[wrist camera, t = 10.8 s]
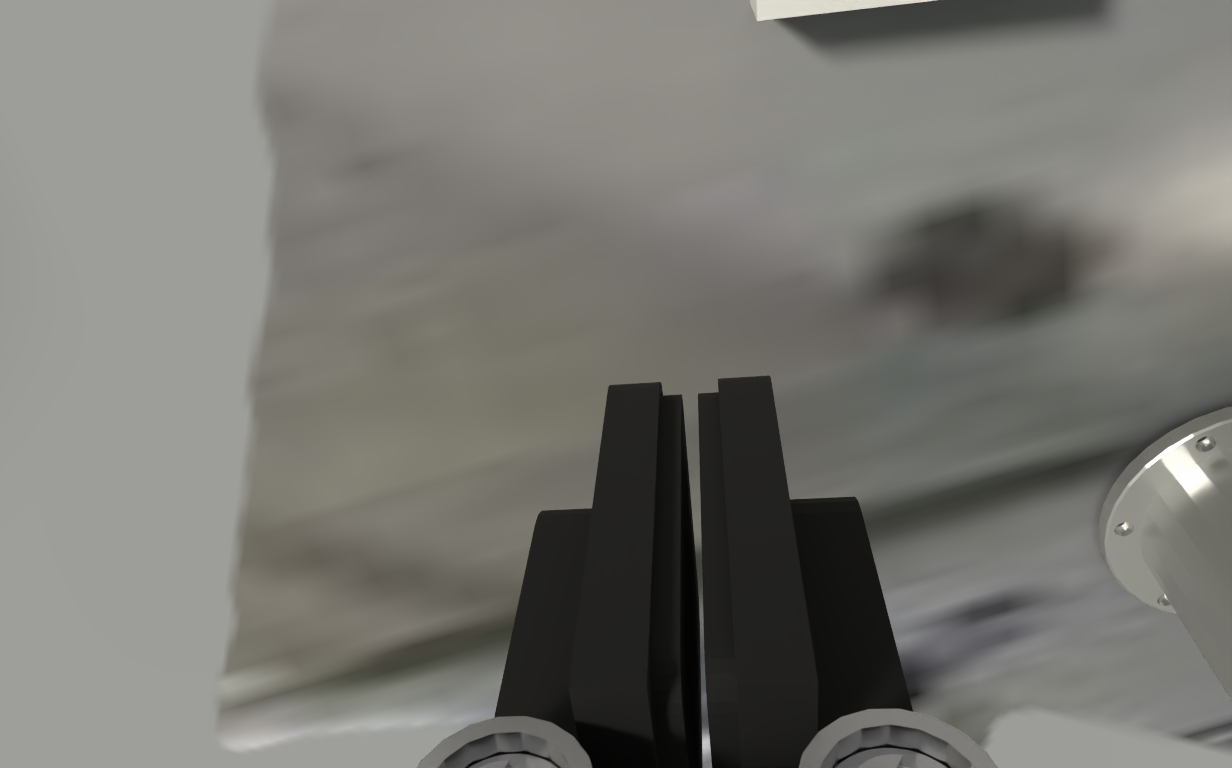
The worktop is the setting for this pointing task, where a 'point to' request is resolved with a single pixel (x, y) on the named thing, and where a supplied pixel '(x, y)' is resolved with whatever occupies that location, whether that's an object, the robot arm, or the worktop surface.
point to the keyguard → (815, 7)
